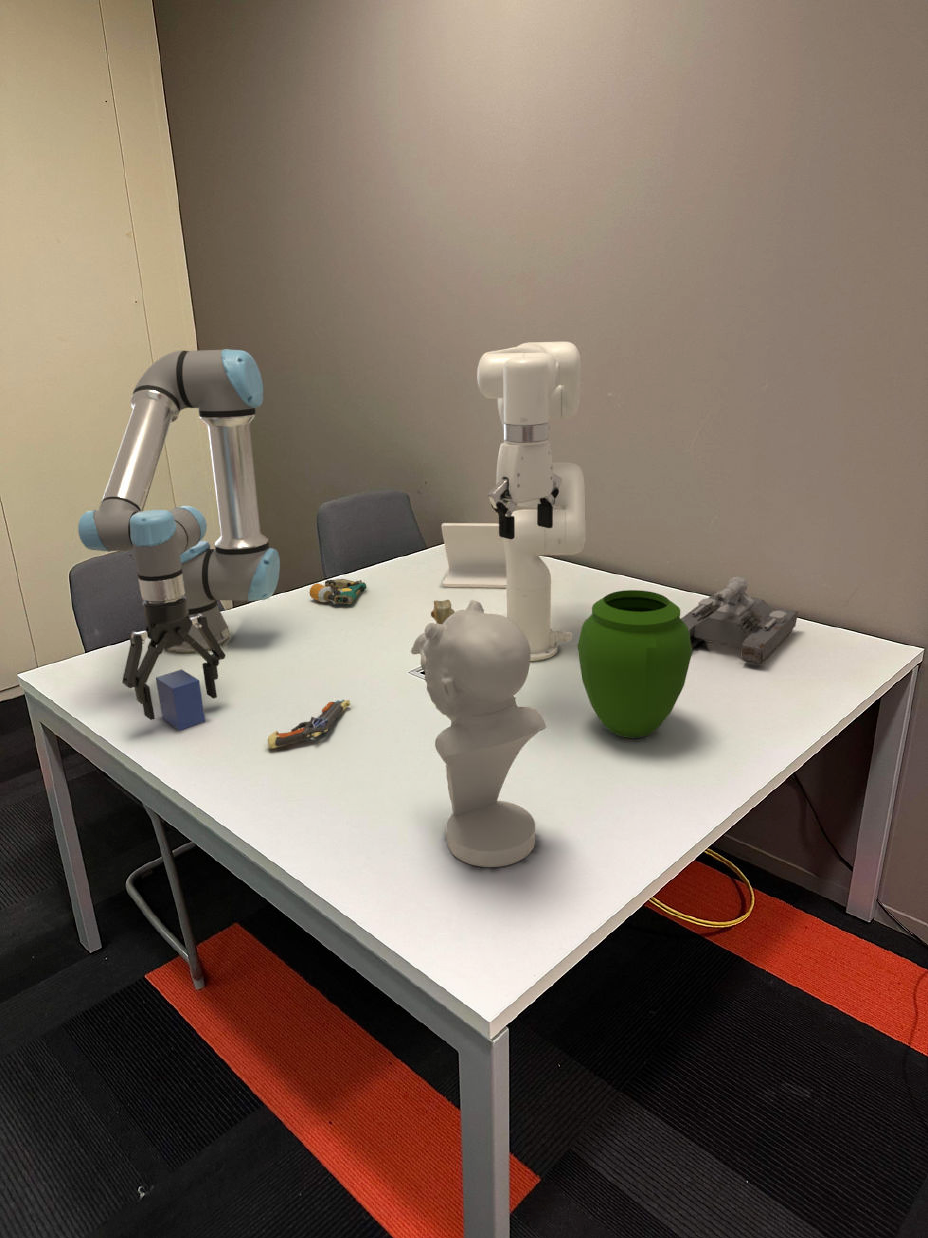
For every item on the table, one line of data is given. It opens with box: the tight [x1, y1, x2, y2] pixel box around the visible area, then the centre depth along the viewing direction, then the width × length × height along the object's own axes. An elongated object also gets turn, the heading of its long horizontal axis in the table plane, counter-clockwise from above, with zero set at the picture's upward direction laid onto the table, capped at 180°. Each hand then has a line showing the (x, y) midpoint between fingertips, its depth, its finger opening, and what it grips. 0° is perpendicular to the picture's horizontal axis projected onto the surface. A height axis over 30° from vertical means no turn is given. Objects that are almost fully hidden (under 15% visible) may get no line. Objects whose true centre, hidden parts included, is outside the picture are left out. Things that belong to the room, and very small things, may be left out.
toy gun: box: [267, 699, 351, 749], centre depth 157 cm, size 3×19×10 cm
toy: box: [680, 576, 799, 666], centre depth 187 cm, size 25×20×15 cm
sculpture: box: [430, 599, 456, 624], centre depth 177 cm, size 6×7×15 cm
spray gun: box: [308, 578, 367, 605], centre depth 226 cm, size 4×17×15 cm
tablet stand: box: [441, 522, 507, 589], centre depth 235 cm, size 18×25×17 cm
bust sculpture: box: [410, 599, 547, 868], centre depth 121 cm, size 16×24×35 cm
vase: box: [576, 589, 693, 739], centre depth 149 cm, size 20×20×24 cm
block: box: [155, 668, 206, 732], centre depth 160 cm, size 5×7×9 cm
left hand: (181, 706), depth 161 cm, fingers open, 12 cm apart
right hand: (526, 532), depth 150 cm, fingers open, 9 cm apart
